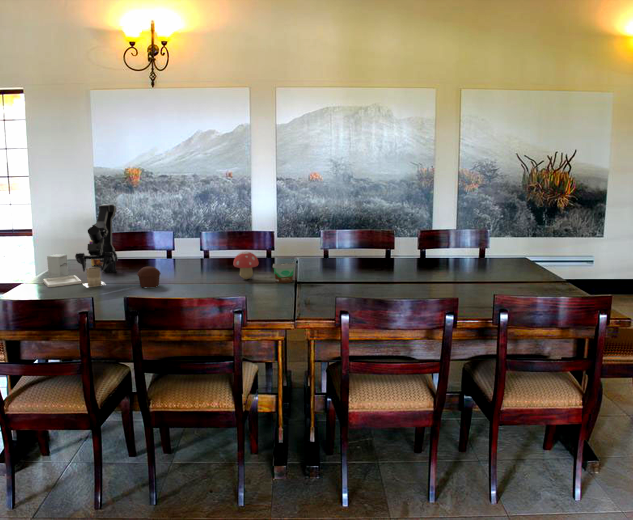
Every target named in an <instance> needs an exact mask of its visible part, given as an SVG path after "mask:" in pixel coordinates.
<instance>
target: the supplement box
mask: <svg viewBox="0 0 633 520" xmlns="http://www.w3.org/2000/svg"><path fill="white" fill-rule="evenodd" d="M46 257H47V258H46V260H47V271H48V278H56V277H65V276H69V268H68V265H69V264H68V255H67V254H66V253H65V254H63V253H61V254H59V253H57V254H56V253H55V254H51V255H48V256H46Z"/></svg>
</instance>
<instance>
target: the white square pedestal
mask: <svg viewBox="0 0 633 520" xmlns="http://www.w3.org/2000/svg"><path fill="white" fill-rule="evenodd" d="M82 285H83V287H85V288H92V287H93V288H94V287H101V286H107V284H106V282H104V281H102V280H101V284H100V285H96V286H90V285H88V282H86V283H82Z"/></svg>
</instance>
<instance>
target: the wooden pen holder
mask: <svg viewBox="0 0 633 520" xmlns="http://www.w3.org/2000/svg"><path fill="white" fill-rule="evenodd" d="M85 271H86V278H87V279H86V280H87V282H86V283H88V285H90V286H95V287H97V286H96V285H100V284H101V281H102V280H101V279H102V278H101V277H102V276H101V267H98V266H91V267H86V268H85Z"/></svg>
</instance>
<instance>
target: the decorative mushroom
mask: <svg viewBox="0 0 633 520" xmlns="http://www.w3.org/2000/svg"><path fill="white" fill-rule="evenodd" d="M259 263H260V262H259V259H258V257H257V256H256V255H255V254H254V253H253V252H251V251H242V252H240V253H238V254H237V255H236V256H235V257H234V259H233V266H234V268H239V276H240V278H242V279H244V280H249V279H251V278H252V276H253V275H254V271H253V268H257V267H258V265H259Z"/></svg>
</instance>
